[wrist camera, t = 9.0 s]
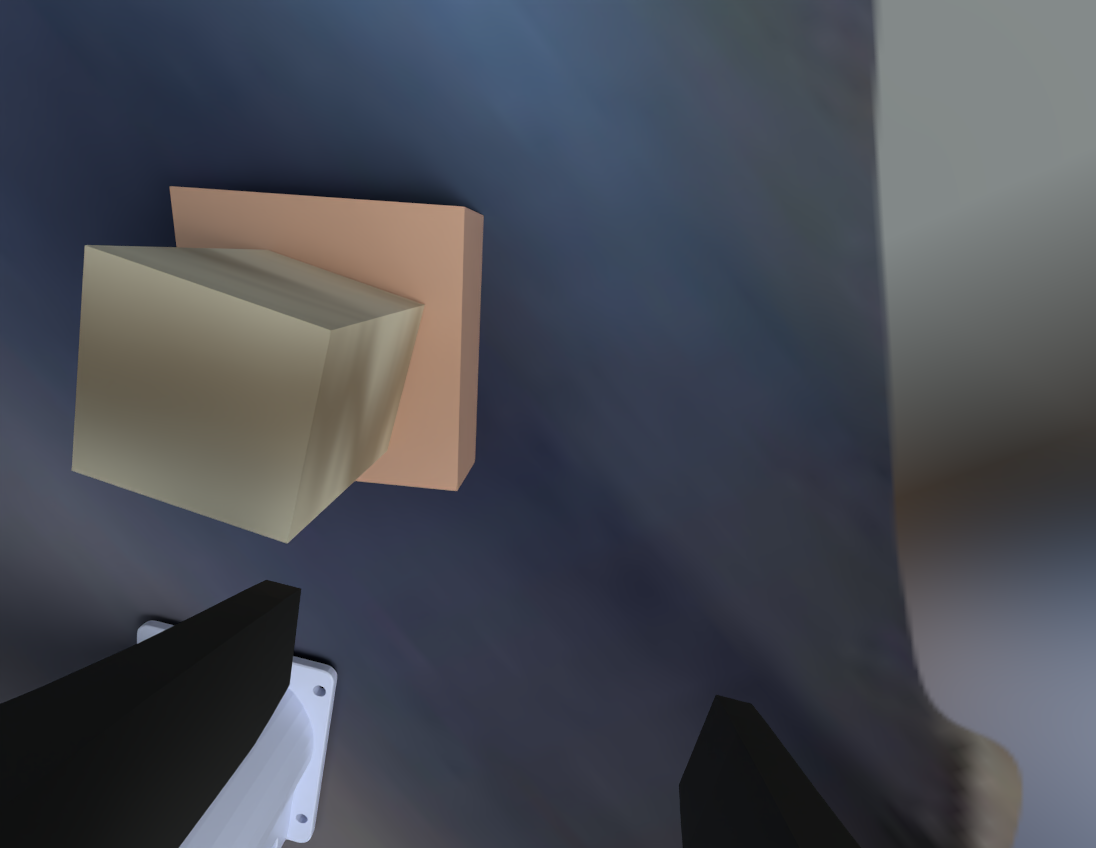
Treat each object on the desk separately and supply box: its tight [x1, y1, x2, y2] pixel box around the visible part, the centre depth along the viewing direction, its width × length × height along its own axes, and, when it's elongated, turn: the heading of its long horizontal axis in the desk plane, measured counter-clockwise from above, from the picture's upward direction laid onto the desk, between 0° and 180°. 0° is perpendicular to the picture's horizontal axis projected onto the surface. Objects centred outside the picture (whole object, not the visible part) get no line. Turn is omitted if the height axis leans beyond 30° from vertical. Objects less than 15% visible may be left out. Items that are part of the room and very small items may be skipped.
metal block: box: [72, 245, 425, 543], centre depth 13 cm, size 4×4×6 cm
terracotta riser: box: [169, 186, 484, 491], centre depth 17 cm, size 8×8×3 cm
